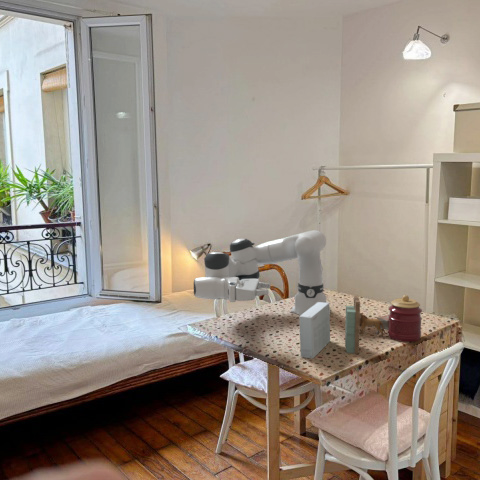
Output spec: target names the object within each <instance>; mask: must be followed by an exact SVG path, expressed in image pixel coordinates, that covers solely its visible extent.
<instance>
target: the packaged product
mask: <svg viewBox="0 0 480 480" xmlns="http://www.w3.org/2000/svg"><path fill="white" fill-rule="evenodd" d="M388 315H389V314H386V315H385V314H384V315H382V316H377V317H376V319H378V320H380V321H381V322H382V324H383V327H384V331H388V325H389V317H388ZM380 328H381V330H383V328H382V326H381V325H380Z"/></svg>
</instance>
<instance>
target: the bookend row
mask: <svg viewBox="0 0 480 480" xmlns="http://www.w3.org/2000/svg"><path fill="white" fill-rule="evenodd" d="M360 313H361V301H360V298H359V296H358V295H353V305H345V330H344V332H345V335H344V336H345V338H344V340H345V341H344V343H345V344H344V346H345V351H346V354H355V355H356V354H360V329H361V327H360Z"/></svg>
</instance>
